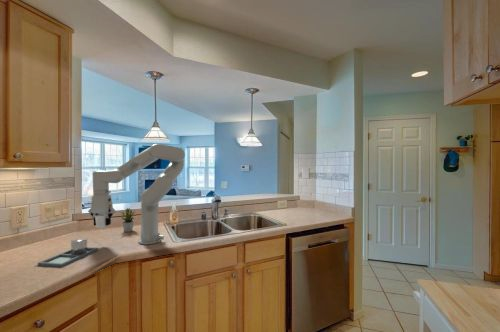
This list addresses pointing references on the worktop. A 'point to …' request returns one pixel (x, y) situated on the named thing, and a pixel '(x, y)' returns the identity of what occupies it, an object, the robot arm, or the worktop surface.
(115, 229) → the worktop surface
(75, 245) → the block
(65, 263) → the divided tray
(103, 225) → the white cylinder
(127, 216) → the house plant
